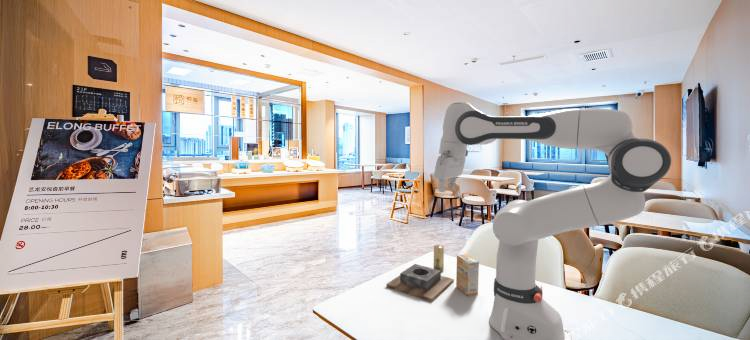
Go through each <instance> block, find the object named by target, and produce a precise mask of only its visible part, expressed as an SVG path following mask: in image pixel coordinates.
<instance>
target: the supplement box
mask: <svg viewBox="0 0 750 340" xmlns="http://www.w3.org/2000/svg"><path fill="white" fill-rule="evenodd" d="M479 266H480V261H479V260H477V259H475V258H474V257H472V256H470V255H469V254H467V253H465V254H464V253H463V254H456V279H455V280H456V284H455V285H456V287H457V288H458V289H459V290H460V291H462V292H464V294H465V295H466V296H473V295H474V296H475V295H478V294H479V272H480V271H479V270H480V269H479V268H480V267H479Z"/></svg>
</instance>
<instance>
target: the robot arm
mask: <svg viewBox="0 0 750 340" xmlns="http://www.w3.org/2000/svg"><path fill="white" fill-rule="evenodd" d="M497 139H498V140H525V141H531V142H535V143H538V144H542V145H545V146H549V147H554V148H560V149H566V150H567V149H568V150H593V151H598V152H601V153H604V155H605V159H606V164H607V166H608V168H609V171H610V174H609V175H608V176H607V177H606V178H605V179H603V180H600V181H598V182H593V183H590V184H585V185H581V186H577V187H572V188H568V189H565V190H561V191H557V192H552V193H549V194H546V195H543V196H540V197H537V198H534V199H530V200H525V199H515V200H511V201H510V202H508V203H507V204H505V205H504V206H503V207H502V208H500V209H499V210H498V211H497V212H496V214H494V217H493V222H492V230H493V234H494V235H495V236H494V237H496V239H498V247H497V252H496V266H495V278H494V279H493V280H494V281H493V296H494V298H493V300H494V301H493V305H492V311H491V312H490V313H491V314H490V316H489V319H488V321H489V325H490V327H492V328H493V329H494V330H495V331H496V332H497V333H498V334H499V335H500V337H501V339H503V340H572V339H573V337H572V334H571V332H570V330H569V328H567V327H566V326H564V324H563V320H562V317H561V314H560V313H559V312H558V310H556V309H555V308H554V307H553V306H551V305H550V304H549V303H548V302H547V301H546V300H545V299H543V286H538V285H537V284H536V270H537V269H536V268H537V267H536V266H537V256H538V255H537V254H538V245H539V240H541V239H546V238H548V237H553V236H555V235H559V234H562V233H566V232H572V231H576V230H582V229H588V228H589V229H590V228H593V227H599V226H604V225H605V226H606V225H609V224H613V223H616V222H620V221H624V220H628V219H631V218H633V217H636V216H638V215H640V214H641V213H643V211H644V210H645V207H646V198H645V197H646V196H645V194H644V192H647V191H648V189H650V188H651V187H653V186H654V185H655V184H656V183H658V182H659V181H660V180H662V179H663V178H664V177H665V176H666V175H667V174H668V172H669V171H670V168H671V166H672V157H671V153H670V152H669V150H668V148H667V147H666V146H664V145H663V144H661V143H660V142H658V141H656V140H654V139H648V138H638V137H637V136H635V135H634V132H633V122H632V119H631V117H630V115H629V114H628V113H627V112H625V111H623V110H618V109H612V108H611V109H609V108H597V107H596V108H595V107H594V108H592V107H591V108H589V107H588V108H587V107H586V108H585V107H583V108H582V107H581V108H568V109H562V110H560V109H559V110H554V111H551V112H550V111H549V112H545V113H539V114H534V115H533V114H532V115H528V116H526V115H523V116H522V115H521V116H517V115H515V116H513V115H512V116H493V115H492V116H491V115H488V114H486V113H484V112H482V111H480V110H478V109H477V108H475V107H474V106H473V105H472V104H471V103H470V102H462V101H461V102H454V103H451V104H450V105H448V106H447V108H446V109H445V114H444V118H443V124H442V136H441V139H440V144H439V150H438V151H439V152H438V154H439V156H438V157H437V159H436V164H435V167H434V174H433V177H434V179H436V180H438V185H439V187H438V191H439V192H440V193H444V192H446V190H447V189H446V188H448V189H454V188H455V183H456V181H457V177H460V176H462V174H463V171H464V167H465V164H466V157H468V154H469V150H468V149H467V148H468V146H474V145H489V144H492V143H494V142H495V141H496V140H497ZM447 180H449V182H448V184H447V185H448V186H447V187H446V182H447ZM565 332H567V333H565Z"/></svg>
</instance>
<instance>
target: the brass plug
mask: <svg viewBox="0 0 750 340" xmlns="http://www.w3.org/2000/svg"><path fill="white" fill-rule="evenodd" d="M444 252H445V248H444V245H441V244H436V245H434V246H433V269H436V270H440V271H441V273H443V272H444V270H445V269H444V266H445V265H444V256H445V253H444Z"/></svg>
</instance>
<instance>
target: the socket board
mask: <svg viewBox="0 0 750 340" xmlns="http://www.w3.org/2000/svg"><path fill="white" fill-rule="evenodd" d="M441 273H442V272H441V271H440V270H436V269H434V267H433V268H432V267H428V266H425V265H420V264H417V263H414V264H412V265H411V266H410V267H408V268H406V269H405V270H404V271H402V272H400V274H399V275H398V276H396V277H395V278H394V279H392V280H390V281H389V282H387V283H386V285H385V286H386V288H389V289H392V290H395V291H397V292H400V293H404V294H406V295H410V296H412V297H416V298H417V299H418V298H419V299H422V300H425V301H428V302H431V303H433V302H434V301H435V300H436V299H438V298H439V296H440V295H441V294H442V293H444V292H445V291H446V290H447V289H448V288H449V287H450V286H451V285H452V284H453V283H454V278H451V277H448V276H443V275H442V274H441Z"/></svg>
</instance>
